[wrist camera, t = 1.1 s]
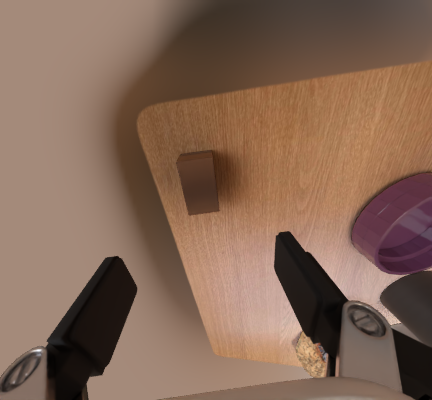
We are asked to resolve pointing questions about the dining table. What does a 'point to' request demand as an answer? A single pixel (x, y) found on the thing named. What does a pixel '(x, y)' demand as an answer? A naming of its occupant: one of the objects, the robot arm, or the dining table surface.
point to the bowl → (398, 227)
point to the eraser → (198, 182)
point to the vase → (412, 304)
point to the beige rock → (310, 357)
